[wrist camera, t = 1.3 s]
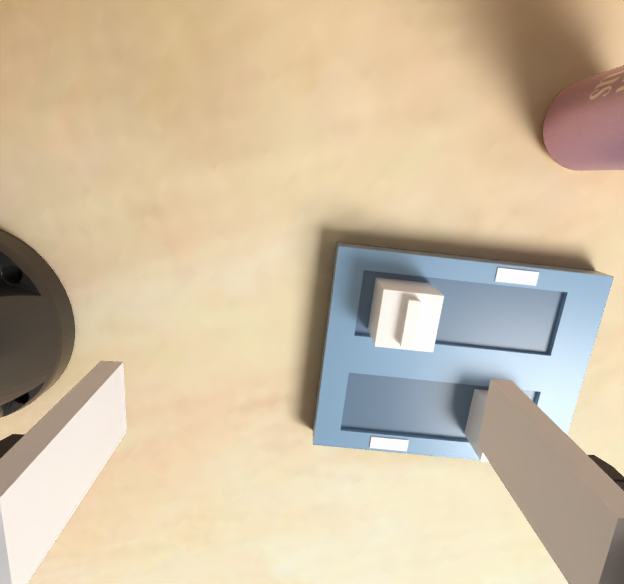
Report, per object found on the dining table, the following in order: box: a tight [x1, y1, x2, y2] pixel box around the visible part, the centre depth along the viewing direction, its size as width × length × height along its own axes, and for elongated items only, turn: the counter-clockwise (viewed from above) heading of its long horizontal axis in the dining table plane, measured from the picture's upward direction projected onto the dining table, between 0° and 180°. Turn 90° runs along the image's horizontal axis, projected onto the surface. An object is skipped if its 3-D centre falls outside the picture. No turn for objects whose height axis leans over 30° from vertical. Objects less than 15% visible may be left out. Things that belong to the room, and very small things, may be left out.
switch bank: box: [313, 242, 614, 460], centre depth 34 cm, size 20×16×2 cm
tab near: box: [368, 277, 444, 352], centre depth 31 cm, size 4×4×4 cm
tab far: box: [464, 389, 489, 462], centre depth 33 cm, size 4×4×4 cm
